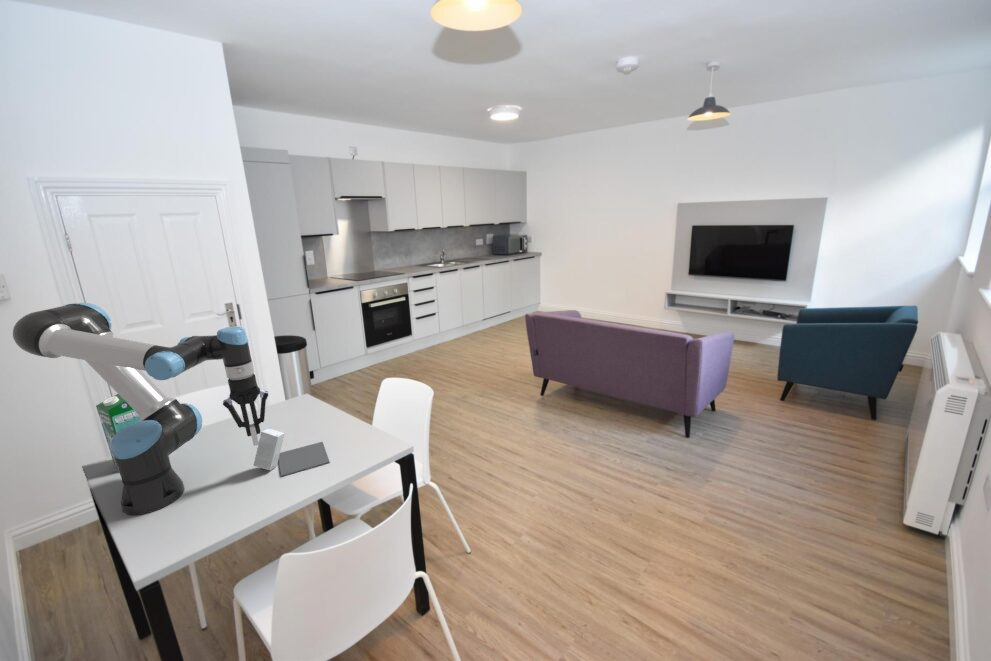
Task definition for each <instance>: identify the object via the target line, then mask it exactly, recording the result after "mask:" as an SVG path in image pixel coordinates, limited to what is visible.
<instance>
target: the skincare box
mask: <svg viewBox="0 0 991 661" xmlns="http://www.w3.org/2000/svg"><path fill="white" fill-rule="evenodd" d="M284 437H285V432H282V431H279V430H275V429H272V428H266V429H264V430H262V431H260V436H259V439H258V441H259V445H257V449H256V454H255V457H254V462H253V467H257V468H260V469H264V470H267V471H271V470H273V469H275V468H276V467H277V466H278V464H279V455H280V453H281V450H282V445H283V442H284Z"/></svg>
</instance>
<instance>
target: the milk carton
mask: <svg viewBox="0 0 991 661" xmlns="http://www.w3.org/2000/svg"><path fill="white" fill-rule="evenodd" d="M95 408H96V410H97V415H98V418H99V420H100V424H101V427H102V430H103V433H104V436H105V440H106V442H107V446H108V449H109V454H110V456H111V459H112V463H113V465H115V466H116V467H118V466H117V463H116V460H115V457H114V455H113V453H112V452H113V451H112V444H111V441H112V438H113V437H114V436H115V434H116V433H118V432H119V431H120V430H122V429H123V428H125V427H127V426H129V425H133V424H135V423H137V422H139V418H140V416H139V415H138V414H137V412H136V411H135V410H134V409H133V408H132V407H131V406H130V405H129V404H128V403H127V402H126V401H125V400H124V399H123V398H122V397H121V396H120V395H119V394H118V393H117V394H115V395H113V396H111V397H107V398H106V399H104V401H102V402H100V403H98V404H97V405H95Z"/></svg>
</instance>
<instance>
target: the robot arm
mask: <svg viewBox="0 0 991 661" xmlns="http://www.w3.org/2000/svg"><path fill="white" fill-rule="evenodd" d="M111 329H112V322H111V317H110V316H109V314H108V313H107V312H106V311H105V310H104V309H103V308H101V307H100V306H98V305H96V304H93V303H89V302H79V303H78V302H77V303H76V302H75V303H69V304H64V305H61V306H57V307H52V308H47V309H43V310H38V311H33V312H30V313H28V314H26V315H24V316H22V317H21V318H20V319H18V321H17V322H16V323H14V326H13V329H12V338H13V340H14V342H15V344H16V345H17V346H18V347H19V348H20V349H21V350H23V351H25V352H27V353H29V354H30V355H31V354H32V355H34V356H37V357H43V358H44V357H45V358H48V359H58V358H61V357H65V358H66V357H67V358H71V359H77V360H83V361H85V362H86V363H87V364H88V365H89V366H90V367H91V368H92V369H93V370H94V371H95V372H96V373H97V374H98V375H99V377H101V378H102V379H103V380H104V382H106V383H107V384H108V385H109V386H110V387H111V388H112V390H114V391H115V392H116V393H117V394H119V395H120V396H121V397H122V398H123V399H124V400H125V401H126V402H127V403H128V404H129V405H130V406H131V407H132V408H133V409H134V410H135V411H136V412H137V414H138V415H139V416H140V418H139V422H137V423H135V424H133V425H129V426H127V427H125V428H123V429H122V430H120V431H119V432H118V433H116V434H115V436H114V437H113V438H112V441H111V444H112V451H113V452H112V453H113V455H114V457H115V460H116V463H117V466H116V467H117V469H118V473H119V475H120V479H121V481H122V492H121V500H120V506H121V508H122V509H121V510H122V511H123V513H124V514H126V515H130V516H137V515H138V516H139V515H143V514H149V513H151V512H155V511H158V510H160V509H162V508H165V507H167V506H169V505H171V504H172V503H174V502H175V501H176V500H178V499H179V498H181V496H182V495H183V494H184V493H185V485H184V482H183V480H182V478H181V477H180V476H179V475H178V474H177V473H176V471H175V470H174V468H173V467H172V464H171V461H170V455H172V453H174V452H175V451H177V450H178V449H180V448H181V447H182V446H183V445H185V444H186V443H188V442H189V441H191V440H193V438H194V437H195V436H197V435H198V434H199V433H200V431H201V429H202V426H203V416H202V414H201V412H200V410H199V409H198V408H197V407H195V406H194V405H193V404H191V403H190V404H188V403H184V402H183V403H181V402H180V401H179V400H178V399H177V398H176V397H175V398H173V397H172V398H171V397H167V396H166V394H165V393H163V392H162V391H161V390H160V388H159V387H158V386H157V385H156V384H155V383H154V382H153V381H152V380H151V379H150V378H149V377H152V378H153V379H154V380H157V381H166V380H169V379H172V378H175V377H177V376H179V375H180V374H182V373H184V372H187V371H188V370H190V369H192V368H194V367H196V366H198V365H200V364H202V363H204V362H207V361H214V360H218V361H219V360H222V362H223V365H224V369H225V374H226V378H227V383H228V387H229V392H230V393H229V395H228V397H227V398H226V399H224V400H223V402H222V405H223V407H225V408H226V409H227V410H228V411H229V414H230V415H231V416H232V418H233V420H234V423H236V425H237V426H238V428H241V429H242V428H245V431H246V436H247V437H251V440H252V445H253V447H255V446H258V445H259V436H258V435H259V434H260V435H261V428H260V424H261V423H264V422H265V414H266V403H267V402H266V401H267V399H268V397H269V391H267V390H265V391H264V390H261V389H260V386H258V383H257V377H256V374H255V368H254V363H253V359H252V357H251V351H250V346H249V338H248V336H247V333H246V330H245V328H244V327H242V326H239V325H238V326H229V327H223V328H220V329H218V330H217V332H216V335H192V336H185V337H182V338H181V339H180V341H179V342H178V343H177V344H176V345H174V346H171V347H169V346H163V345H157V344H151V343H146V342H142V341H137V340H135V341H134V340H132V339H131V340H130V339H126V338H125V339H124V338H120V337H113V336H114V332H113V331H112V330H111ZM143 371H145V372H146V373H147V375H148V376H147V375H146V374H145V372H143ZM258 397H259V398H261V400H260V411H259V412H260V413H259V417H258V413H257V409H256V405H255V402H256V400H257V398H258ZM233 402H234V403H236V404H237V405H239V406H240V411H241V413H242V414H241V415H242V418H241V417H240V415H239V413H238V411H237V410H236V408H235V406H234V405H233ZM247 404H248V405H249V407H250V412H251V417H252V422H253V423H250V419H249V415H248V411H247V406H246V405H247ZM242 419H243V421H242Z"/></svg>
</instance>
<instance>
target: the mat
mask: <svg viewBox="0 0 991 661" xmlns="http://www.w3.org/2000/svg"><path fill="white" fill-rule="evenodd" d="M330 463H331V462H330V459H329V456H328V454H327V451H326V447H325V445H324V442H323V441H320V442H315V443H313V444H308V445H304V446H300V447H297V448H294V449H290V450H286V451H283V452H282V451H281V452H280V455H279V459H278V464H279V470H280V477H281V478H284V477H286V476H290V475H294V474H297V473H300V472H303V471H308V470H310V469H315V468H317V467H321V466H323V465H328V464H330Z"/></svg>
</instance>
